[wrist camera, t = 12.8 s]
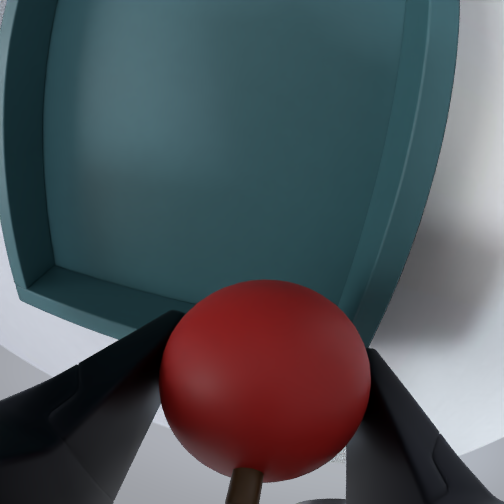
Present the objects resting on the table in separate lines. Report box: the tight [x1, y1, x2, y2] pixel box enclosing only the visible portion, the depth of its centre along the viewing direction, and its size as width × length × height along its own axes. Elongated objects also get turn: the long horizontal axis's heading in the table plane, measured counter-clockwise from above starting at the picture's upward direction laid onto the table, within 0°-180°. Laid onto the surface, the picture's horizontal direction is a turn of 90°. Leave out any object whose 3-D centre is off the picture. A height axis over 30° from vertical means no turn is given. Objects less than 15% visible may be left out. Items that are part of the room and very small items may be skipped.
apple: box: [159, 279, 371, 504], centre depth 7 cm, size 5×5×6 cm
